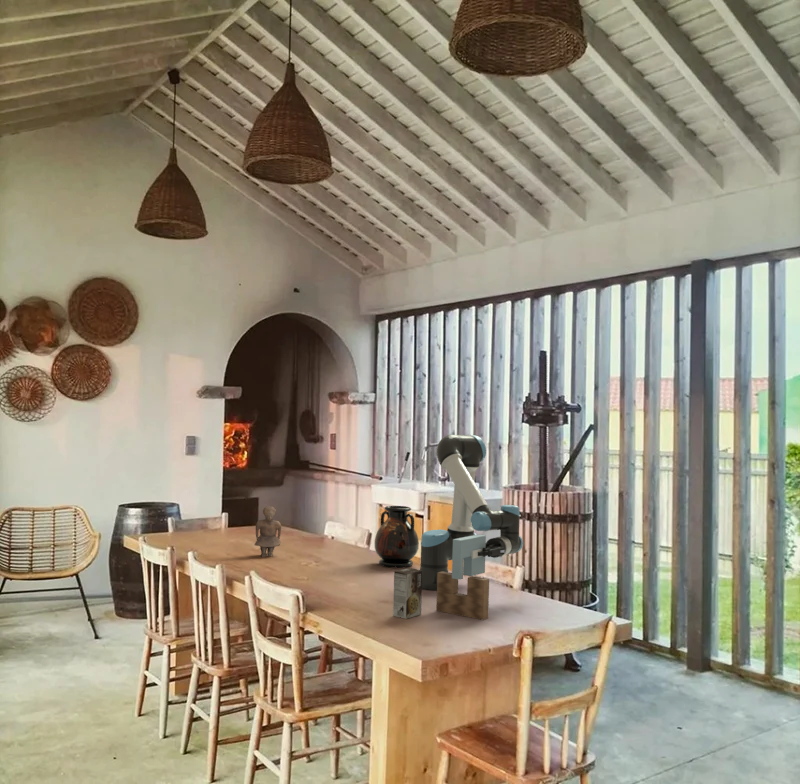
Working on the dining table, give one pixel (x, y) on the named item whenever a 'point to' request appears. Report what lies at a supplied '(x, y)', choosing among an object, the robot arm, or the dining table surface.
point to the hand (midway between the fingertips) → (467, 554)
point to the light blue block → (467, 556)
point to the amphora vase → (396, 538)
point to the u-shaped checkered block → (463, 596)
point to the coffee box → (407, 593)
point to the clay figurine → (268, 532)
